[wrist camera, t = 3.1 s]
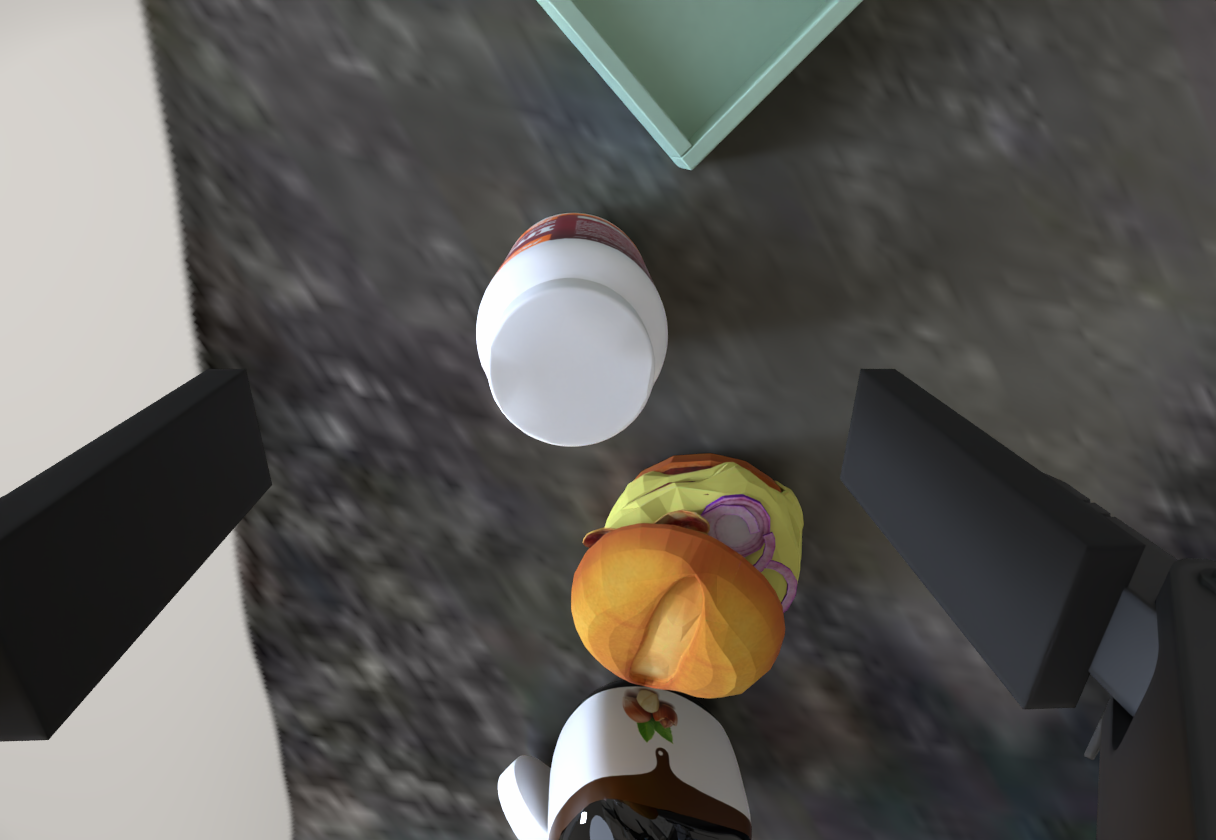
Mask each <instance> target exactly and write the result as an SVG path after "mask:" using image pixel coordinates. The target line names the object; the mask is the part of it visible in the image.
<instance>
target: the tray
mask: <svg viewBox="0 0 1216 840" xmlns="http://www.w3.org/2000/svg"><path fill="white" fill-rule="evenodd" d="M536 1H537V2H538V3H539V4H540V5H541V6H542V8H543V9H544V10H545V11H546V12H547V13H548V15H549V16H550V17H551V18H552V19H553V20H554V22H555V23H556V24H557V25H558V26H559V28H560V29H561V30H562V31H563V32H564V33H565V35H566V36H567V37H568V38H569V39H570V40H571V42H572V43H573V44H574V45H575V46H576V48H577V49H578V50H579V51H580V52H581V53H582V55H583V56H584V57H585V58H586V59H587V60H588V62H589V63H590V64H591V65H592V66H593V68H594V69H595V70H596V71H597V72H598V73H599V75H600V76H601V77H602V78H603V79H604V80H605V82H606V83H607V84H608V85H609V86H610V87H611V89H612V90H613V91H614V92H615V93H616V95H617V96H618V97H619V98H620V99H621V100H622V102H623V103H624V104H625V105H626V106H627V107H628V109H629V110H630V111H631V112H632V113H633V115H634V116H635V117H636V118H637V119H638V120H639V122H640V123H641V124H642V125H643V126H644V127H645V129H646V130H647V131H648V132H649V133H650V135H651V136H652V137H653V138H654V139H655V140H656V142H657V143H658V144H659V145H660V146H661V147H662V149H663V150H664V151H665V152H666V153H667V154H668V156H669V157H670V158H671V159H672V160H673V162H674V163H675V164H676V165H677V166H678V167H680V168H684V169H688V170H693V169H694V168H695V167H696V166H697V165H698V164H699V163H700V162H701V161H702V160H703V159H704V158H705V157H706V156H707V155H708V154H709V153H710V152H711V151H712V150H713V149H714V148H715V147H716V146H717V145H718V144H719V143H720V142H721V141H722V140H723V139H724V138H725V137H726V136H727V135H728V134H729V133H730V132H731V131H732V130H733V129H734V128H735V127H736V126H737V125H738V124H739V123H740V122H741V121H742V120H743V119H744V118H745V117H746V116H747V115H748V114H749V113H750V112H751V111H752V110H753V109H754V108H755V107H756V106H757V105H758V104H759V103H760V102H761V101H762V100H763V99H764V98H765V97H766V96H767V95H768V94H769V93H770V92H771V91H772V90H773V89H774V88H775V87H776V86H777V85H778V84H779V83H780V82H781V81H782V80H783V79H784V78H785V77H786V76H787V75H789V74H790V73H791V72H792V71H793V70H794V69H795V68H796V67H797V66H798V65H799V64H800V63H801V62H802V61H803V60H804V59H805V58H806V57H807V56H808V55H809V54H810V53H811V52H812V51H813V50H814V49H815V48H816V47H817V46H818V45H819V44H820V43H821V42H822V41H823V40H824V39H825V38H826V37H827V36H828V35H829V34H830V33H831V32H832V31H833V30H834V29H835V28H836V27H837V26H838V25H839V24H840V23H841V22H842V21H843V20H844V19H845V18H846V17H847V16H848V15H849V14H850V13H851V12H852V11H853V10H854V9H855V8H856V7H857V6H858V5H859V4H860V3H861V2H862V1H863V0H536Z"/></svg>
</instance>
